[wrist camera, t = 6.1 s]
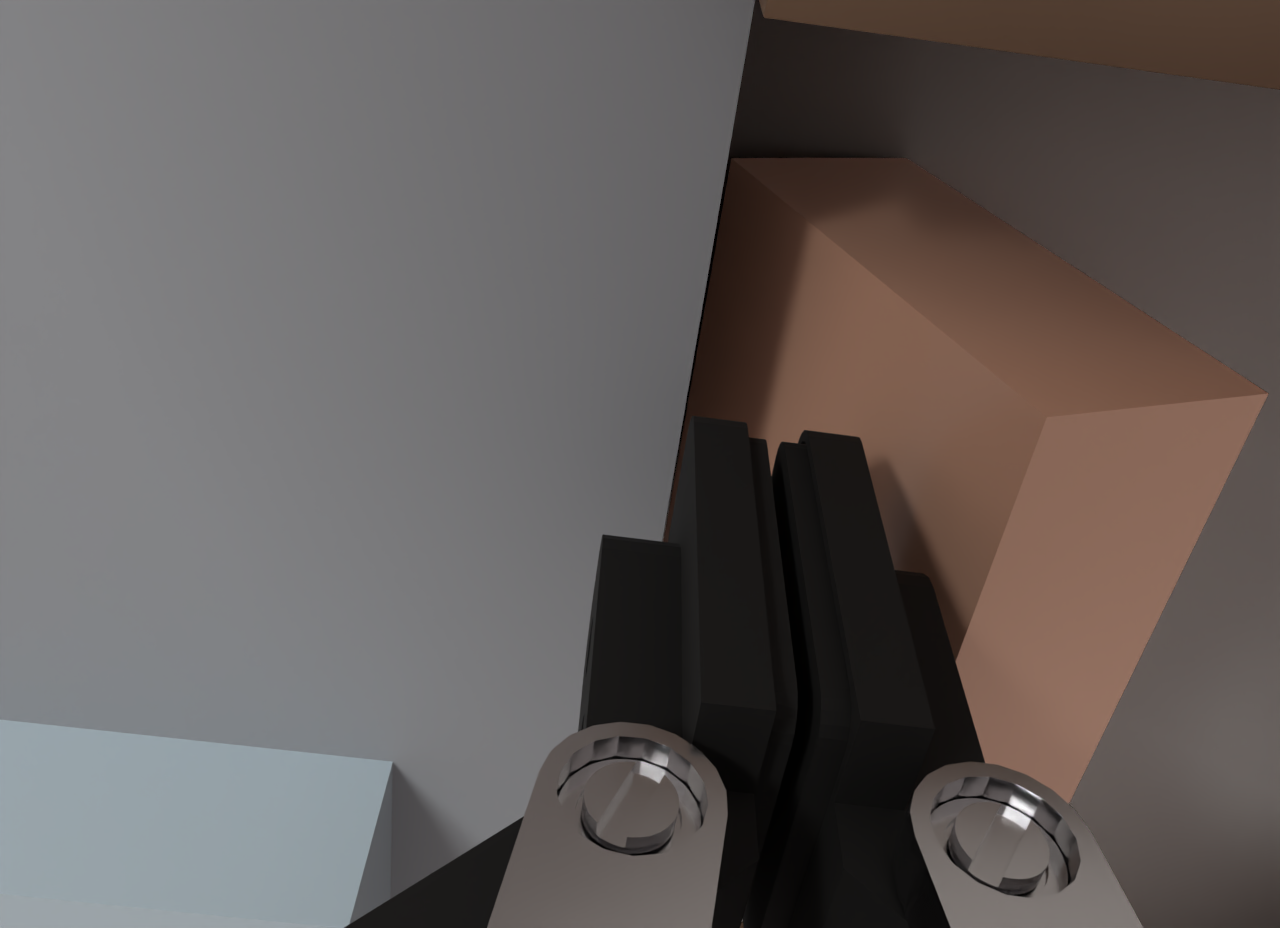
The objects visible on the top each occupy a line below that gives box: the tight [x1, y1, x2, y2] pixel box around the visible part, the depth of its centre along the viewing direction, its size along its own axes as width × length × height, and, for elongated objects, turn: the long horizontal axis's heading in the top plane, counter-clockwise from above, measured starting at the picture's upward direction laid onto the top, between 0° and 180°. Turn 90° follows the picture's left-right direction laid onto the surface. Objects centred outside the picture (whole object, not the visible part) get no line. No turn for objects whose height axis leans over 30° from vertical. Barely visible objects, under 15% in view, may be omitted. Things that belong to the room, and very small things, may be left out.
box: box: [740, 0, 1280, 928], centre depth 17 cm, size 21×15×5 cm
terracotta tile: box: [663, 158, 1269, 804], centre depth 14 cm, size 6×6×2 cm
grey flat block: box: [0, 0, 755, 899], centre depth 16 cm, size 19×14×4 cm
